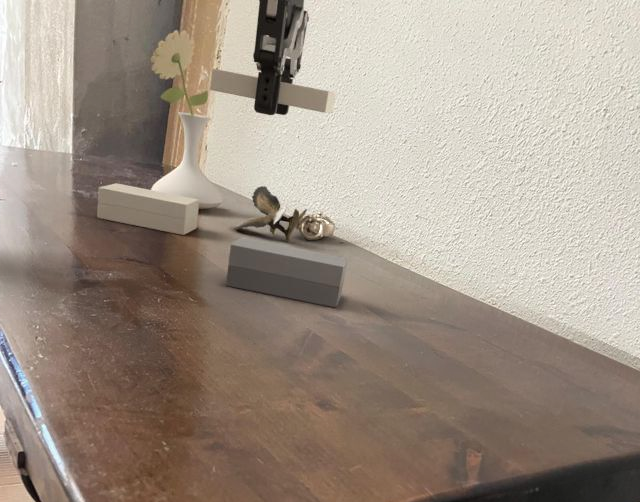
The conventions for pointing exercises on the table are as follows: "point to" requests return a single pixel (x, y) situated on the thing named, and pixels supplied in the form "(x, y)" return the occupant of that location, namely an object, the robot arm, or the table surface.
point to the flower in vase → (184, 123)
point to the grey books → (286, 271)
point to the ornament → (315, 226)
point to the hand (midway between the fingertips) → (271, 113)
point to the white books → (147, 208)
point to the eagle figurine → (271, 213)
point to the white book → (287, 92)
